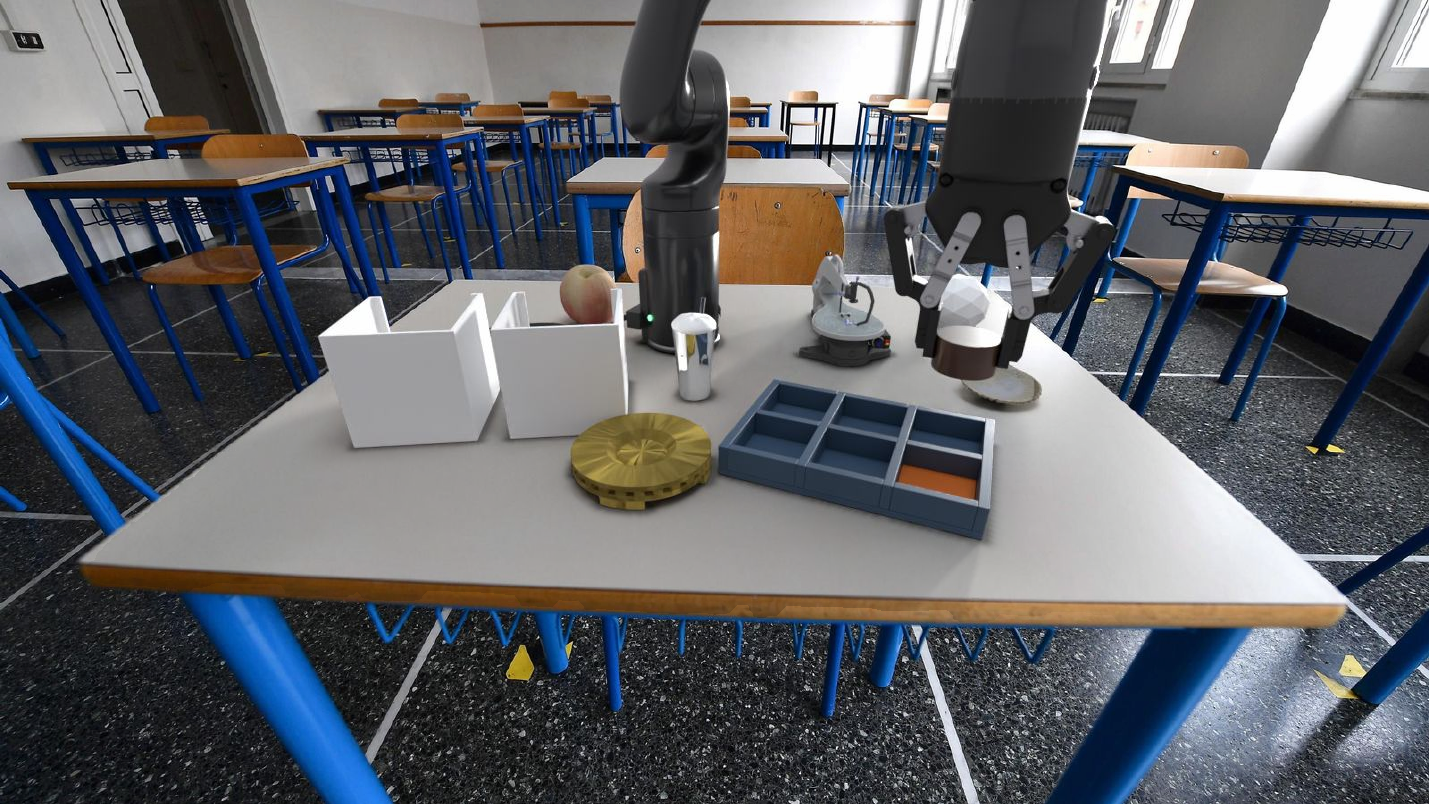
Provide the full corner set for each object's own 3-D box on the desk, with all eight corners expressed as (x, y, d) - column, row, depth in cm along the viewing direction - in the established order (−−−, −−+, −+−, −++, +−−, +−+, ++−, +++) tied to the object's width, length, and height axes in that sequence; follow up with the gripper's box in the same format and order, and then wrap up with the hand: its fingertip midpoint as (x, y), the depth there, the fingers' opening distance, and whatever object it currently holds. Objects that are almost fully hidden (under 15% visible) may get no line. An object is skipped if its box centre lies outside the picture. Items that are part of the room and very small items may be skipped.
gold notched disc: (551, 459, 54) (547, 438, 53) (664, 420, 60) (663, 401, 59) (614, 529, 45) (612, 506, 44) (739, 475, 51) (739, 454, 50)
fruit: (564, 335, 81) (556, 277, 77) (563, 315, 88) (556, 261, 84) (623, 330, 82) (619, 273, 79) (617, 311, 89) (613, 258, 85)
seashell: (966, 422, 63) (1050, 413, 61) (966, 399, 62) (1052, 389, 59) (954, 377, 70) (1030, 368, 67) (953, 355, 68) (1030, 345, 66)
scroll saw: (786, 241, 83) (868, 241, 84) (782, 314, 88) (859, 313, 89) (811, 282, 66) (914, 282, 66) (804, 370, 71) (900, 369, 71)
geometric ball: (951, 343, 86) (982, 294, 85) (978, 344, 78) (1012, 290, 77) (907, 315, 85) (938, 266, 84) (929, 313, 77) (964, 259, 76)
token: (927, 374, 42) (933, 341, 41) (933, 352, 46) (939, 321, 45) (994, 385, 41) (1002, 351, 40) (996, 362, 44) (1003, 330, 43)
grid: (718, 473, 52) (718, 445, 50) (772, 402, 63) (773, 378, 62) (981, 540, 44) (990, 509, 43) (988, 445, 56) (995, 419, 54)
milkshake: (723, 385, 67) (724, 299, 62) (707, 407, 62) (707, 315, 58) (685, 380, 68) (683, 295, 64) (667, 400, 64) (663, 310, 59)
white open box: (354, 447, 55) (317, 336, 50) (396, 394, 65) (369, 296, 60) (627, 432, 58) (618, 324, 53) (628, 383, 67) (621, 288, 62)
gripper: (1149, 91, 36) (1071, 355, 44) (903, 91, 41) (873, 328, 49) (1178, 91, 30) (1081, 398, 37) (884, 92, 35) (854, 362, 43)
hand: (964, 357), depth 43 cm, fingers closed on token, 4 cm apart
